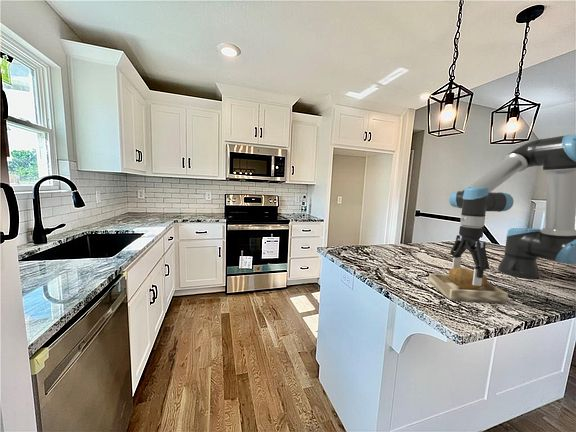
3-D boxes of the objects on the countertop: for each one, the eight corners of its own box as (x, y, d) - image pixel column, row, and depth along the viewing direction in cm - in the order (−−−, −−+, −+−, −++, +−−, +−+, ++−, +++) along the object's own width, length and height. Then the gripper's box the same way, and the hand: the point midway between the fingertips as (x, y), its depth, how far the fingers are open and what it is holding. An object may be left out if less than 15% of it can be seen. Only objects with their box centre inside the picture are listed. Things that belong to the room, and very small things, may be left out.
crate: (474, 284, 107) (476, 276, 106) (506, 303, 89) (508, 293, 89) (428, 282, 108) (429, 273, 108) (450, 300, 91) (451, 290, 91)
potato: (491, 297, 93) (497, 277, 92) (453, 290, 94) (459, 270, 93) (474, 286, 103) (479, 268, 102) (440, 280, 104) (445, 262, 103)
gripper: (444, 221, 108) (439, 267, 111) (483, 232, 84) (476, 290, 86) (462, 222, 107) (456, 268, 110) (507, 232, 83) (499, 292, 85)
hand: (465, 278), depth 98 cm, fingers open, 13 cm apart
